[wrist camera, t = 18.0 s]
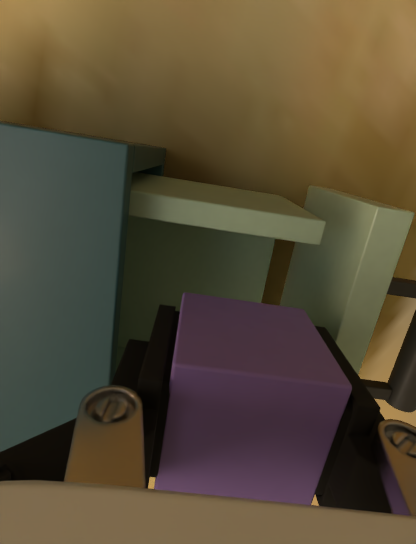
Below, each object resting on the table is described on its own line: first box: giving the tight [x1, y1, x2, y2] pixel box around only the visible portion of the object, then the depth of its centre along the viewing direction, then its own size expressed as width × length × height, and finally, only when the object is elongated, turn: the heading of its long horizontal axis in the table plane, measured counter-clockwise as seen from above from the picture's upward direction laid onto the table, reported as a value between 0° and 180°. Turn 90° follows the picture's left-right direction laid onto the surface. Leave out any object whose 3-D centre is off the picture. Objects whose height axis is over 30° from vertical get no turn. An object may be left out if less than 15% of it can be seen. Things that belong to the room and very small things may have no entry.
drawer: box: [115, 172, 416, 412], centre depth 15 cm, size 18×11×7 cm, turn 81°
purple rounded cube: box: [154, 292, 352, 505], centre depth 10 cm, size 4×4×4 cm
